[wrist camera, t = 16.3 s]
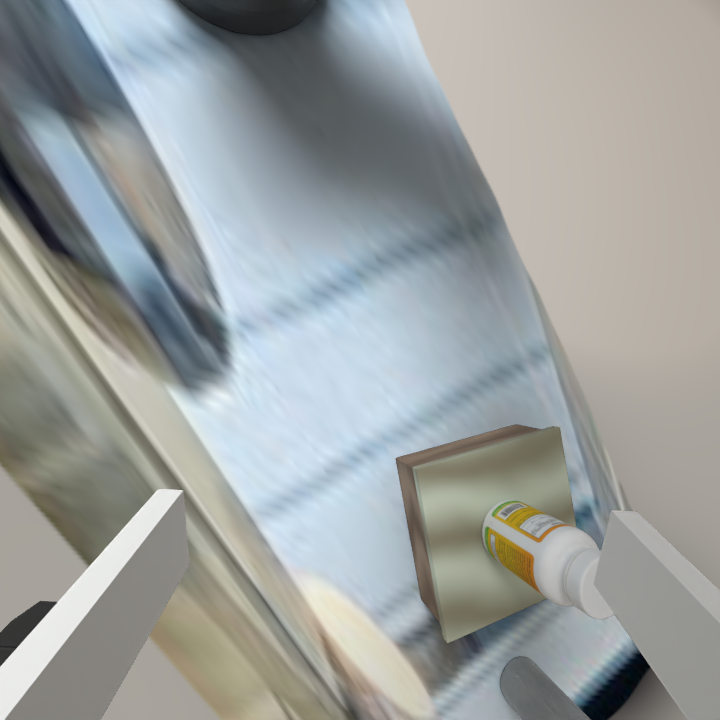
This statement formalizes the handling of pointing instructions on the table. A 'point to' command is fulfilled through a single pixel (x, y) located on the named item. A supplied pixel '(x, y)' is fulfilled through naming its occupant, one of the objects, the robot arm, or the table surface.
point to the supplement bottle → (546, 555)
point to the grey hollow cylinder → (536, 693)
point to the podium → (477, 519)
